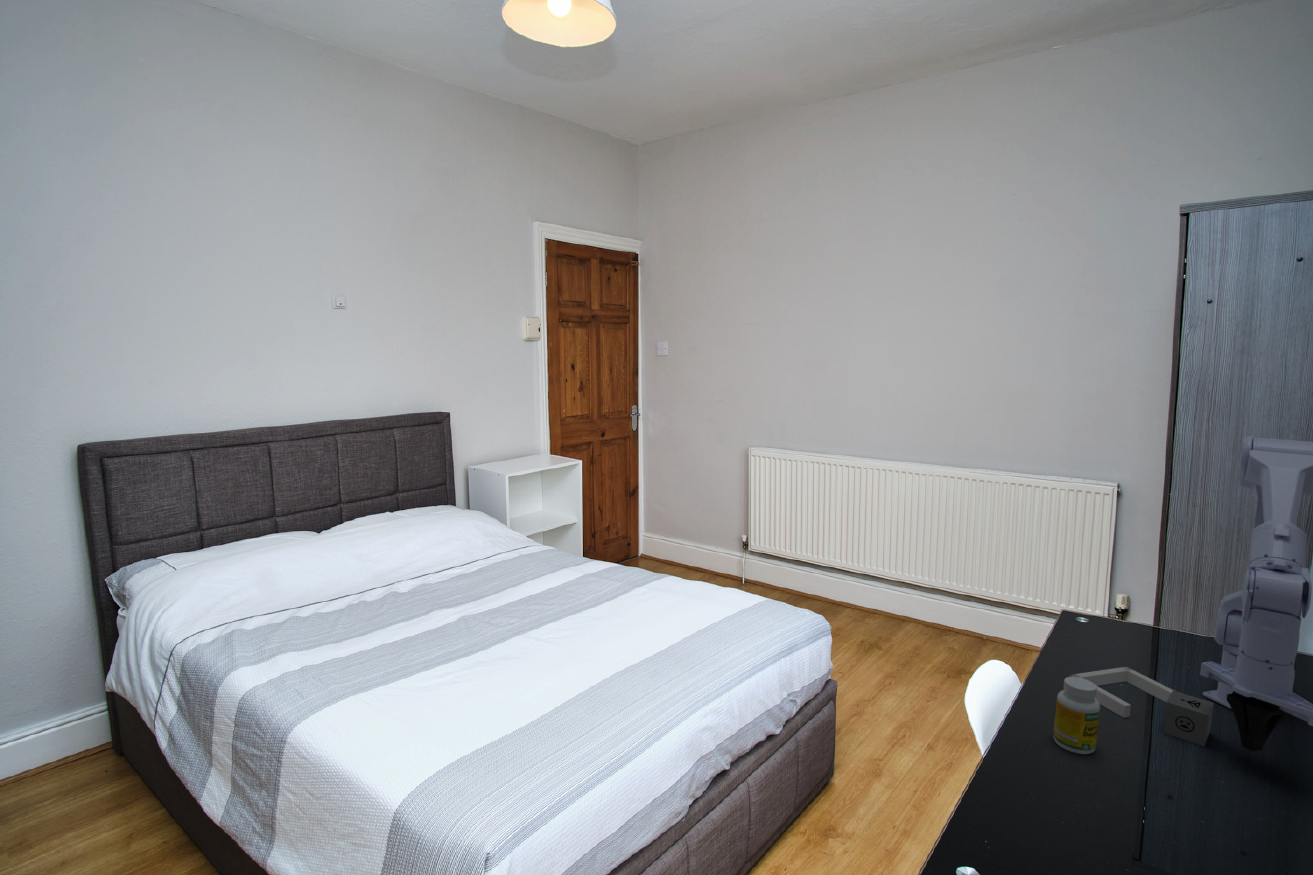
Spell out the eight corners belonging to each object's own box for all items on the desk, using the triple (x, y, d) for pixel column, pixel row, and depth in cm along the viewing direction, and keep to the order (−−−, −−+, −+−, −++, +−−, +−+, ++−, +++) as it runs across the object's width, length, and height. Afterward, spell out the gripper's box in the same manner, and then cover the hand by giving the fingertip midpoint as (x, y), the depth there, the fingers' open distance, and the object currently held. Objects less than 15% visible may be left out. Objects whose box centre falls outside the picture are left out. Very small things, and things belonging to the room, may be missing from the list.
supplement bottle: (1063, 729, 103) (1070, 670, 101) (1102, 747, 98) (1109, 686, 97) (1045, 741, 100) (1051, 680, 98) (1084, 760, 95) (1091, 696, 94)
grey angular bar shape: (1125, 677, 119) (1126, 666, 119) (1183, 707, 110) (1185, 695, 109) (1068, 685, 116) (1069, 674, 116) (1123, 717, 106) (1125, 705, 106)
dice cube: (1204, 747, 99) (1208, 715, 98) (1162, 732, 103) (1166, 701, 102) (1209, 733, 102) (1213, 702, 102) (1168, 720, 106) (1172, 690, 105)
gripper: (1189, 636, 98) (1177, 723, 100) (1307, 684, 84) (1291, 784, 86) (1225, 631, 100) (1213, 717, 102) (1347, 678, 86) (1330, 776, 88)
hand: (1251, 747), depth 94 cm, fingers closed
